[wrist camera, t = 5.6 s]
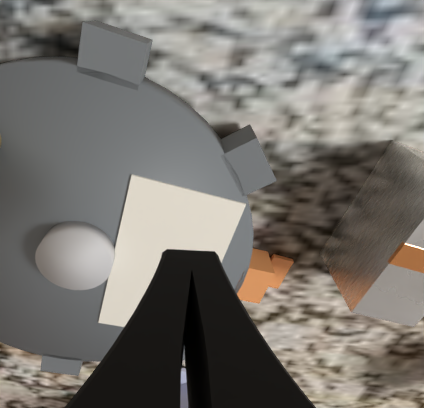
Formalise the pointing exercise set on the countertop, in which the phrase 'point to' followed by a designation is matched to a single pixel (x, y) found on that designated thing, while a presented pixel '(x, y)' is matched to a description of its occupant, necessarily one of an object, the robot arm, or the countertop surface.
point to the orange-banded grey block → (383, 241)
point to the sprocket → (110, 195)
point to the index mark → (279, 269)
